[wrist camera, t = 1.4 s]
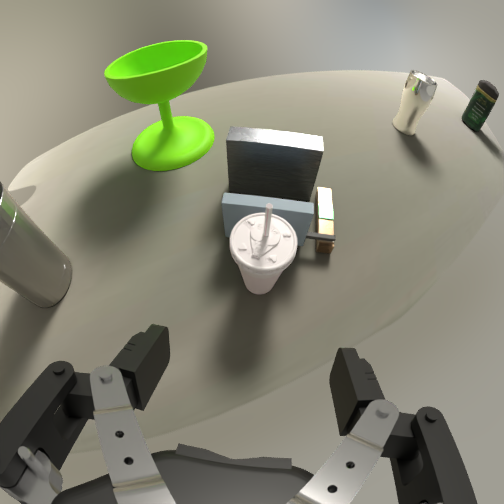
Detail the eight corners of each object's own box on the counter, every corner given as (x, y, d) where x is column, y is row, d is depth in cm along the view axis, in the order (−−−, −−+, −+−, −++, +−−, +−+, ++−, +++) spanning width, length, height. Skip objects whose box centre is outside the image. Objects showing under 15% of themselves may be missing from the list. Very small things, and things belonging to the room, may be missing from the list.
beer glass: (392, 115, 55) (410, 66, 42) (416, 128, 53) (437, 80, 40) (388, 127, 52) (409, 74, 39) (415, 140, 50) (439, 89, 37)
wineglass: (192, 110, 52) (183, 35, 36) (230, 146, 46) (227, 53, 30) (123, 139, 47) (98, 64, 32) (146, 185, 41) (113, 90, 25)
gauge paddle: (225, 236, 36) (221, 202, 29) (227, 227, 36) (224, 192, 30) (331, 249, 35) (347, 218, 29) (331, 240, 36) (346, 208, 30)
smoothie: (292, 267, 35) (315, 195, 22) (274, 312, 32) (293, 258, 20) (245, 250, 36) (245, 173, 24) (224, 293, 33) (212, 229, 21)
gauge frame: (218, 240, 36) (210, 190, 28) (232, 177, 42) (230, 126, 33) (330, 253, 36) (354, 207, 27) (327, 189, 41) (343, 140, 33)
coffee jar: (477, 135, 58) (500, 93, 41) (459, 119, 61) (479, 77, 44) (480, 128, 61) (501, 90, 45) (464, 114, 64) (482, 75, 47)
